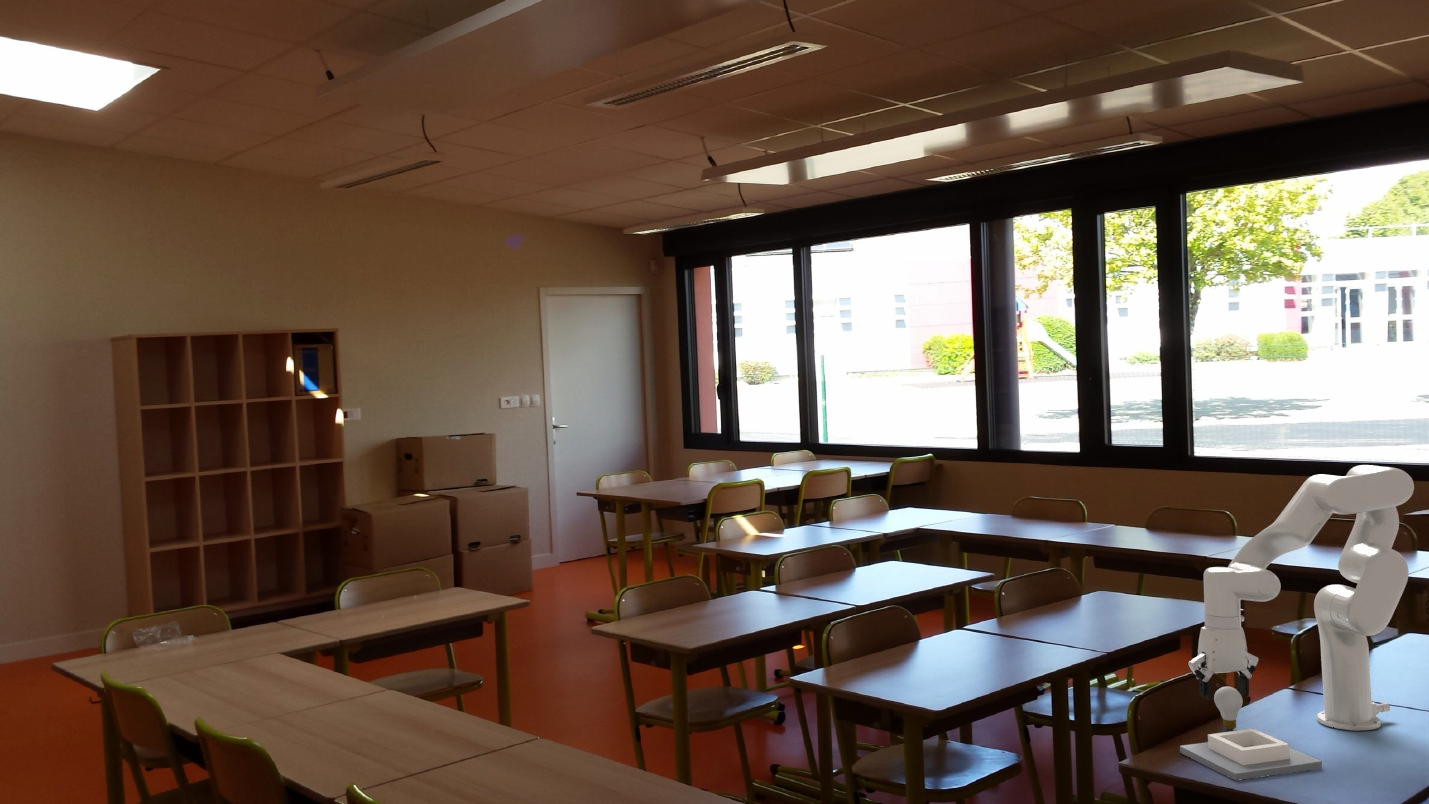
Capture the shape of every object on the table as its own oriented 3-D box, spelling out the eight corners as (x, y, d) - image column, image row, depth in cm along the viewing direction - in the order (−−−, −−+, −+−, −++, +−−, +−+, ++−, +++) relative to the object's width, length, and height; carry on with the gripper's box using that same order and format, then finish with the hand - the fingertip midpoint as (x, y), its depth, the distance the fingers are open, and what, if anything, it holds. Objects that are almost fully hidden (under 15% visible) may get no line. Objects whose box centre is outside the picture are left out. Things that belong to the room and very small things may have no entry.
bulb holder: (1261, 741, 235) (1259, 721, 235) (1322, 768, 217) (1320, 746, 217) (1180, 752, 231) (1179, 732, 231) (1235, 781, 213) (1234, 758, 213)
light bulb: (1247, 734, 240) (1245, 690, 240) (1219, 734, 241) (1217, 690, 241) (1240, 726, 246) (1237, 683, 246) (1212, 726, 247) (1210, 683, 247)
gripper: (1244, 616, 249) (1246, 689, 249) (1178, 621, 245) (1180, 694, 245) (1267, 622, 241) (1269, 697, 241) (1199, 627, 238) (1201, 703, 238)
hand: (1224, 696), depth 243 cm, fingers open, 9 cm apart
